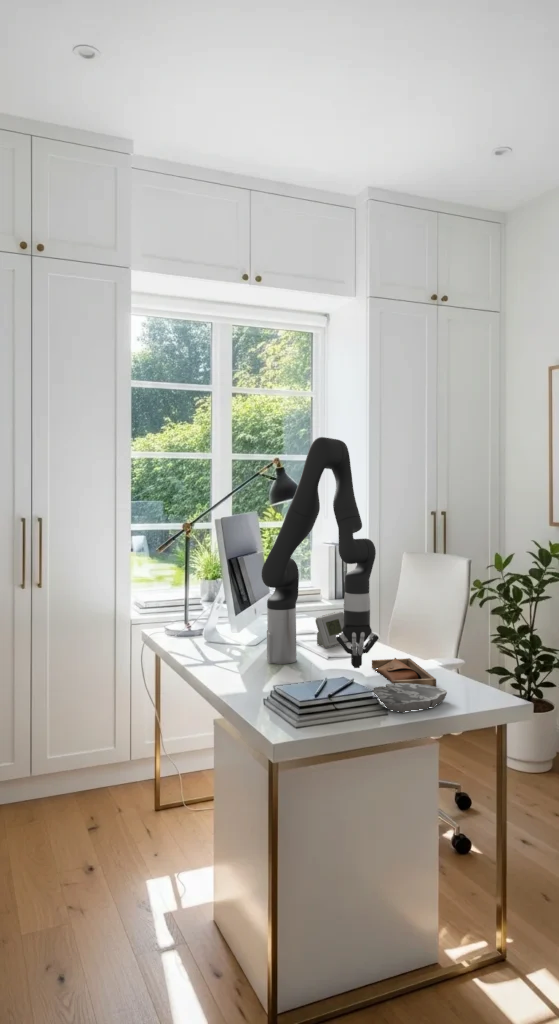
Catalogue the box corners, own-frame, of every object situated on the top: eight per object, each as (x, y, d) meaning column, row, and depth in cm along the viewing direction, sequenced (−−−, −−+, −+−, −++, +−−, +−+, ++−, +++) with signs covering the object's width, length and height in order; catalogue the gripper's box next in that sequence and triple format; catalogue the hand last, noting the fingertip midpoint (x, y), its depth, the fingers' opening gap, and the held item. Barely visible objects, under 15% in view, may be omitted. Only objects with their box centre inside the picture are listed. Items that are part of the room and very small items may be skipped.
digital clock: (325, 649, 243) (324, 619, 243) (307, 645, 250) (307, 615, 250) (358, 642, 254) (357, 613, 254) (340, 638, 261) (339, 609, 260)
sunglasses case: (371, 669, 216) (382, 650, 216) (390, 679, 217) (400, 660, 218) (394, 686, 198) (405, 664, 199) (414, 697, 200) (425, 676, 200)
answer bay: (393, 690, 194) (393, 681, 194) (371, 668, 218) (371, 660, 218) (436, 688, 196) (436, 679, 196) (409, 666, 219) (409, 658, 219)
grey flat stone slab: (407, 689, 196) (407, 678, 196) (456, 704, 182) (456, 692, 182) (355, 703, 184) (355, 692, 184) (404, 720, 171) (404, 708, 171)
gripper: (336, 610, 200) (336, 671, 201) (382, 610, 201) (382, 670, 202) (331, 606, 207) (331, 664, 208) (376, 605, 209) (375, 663, 210)
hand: (356, 667), depth 205 cm, fingers closed
